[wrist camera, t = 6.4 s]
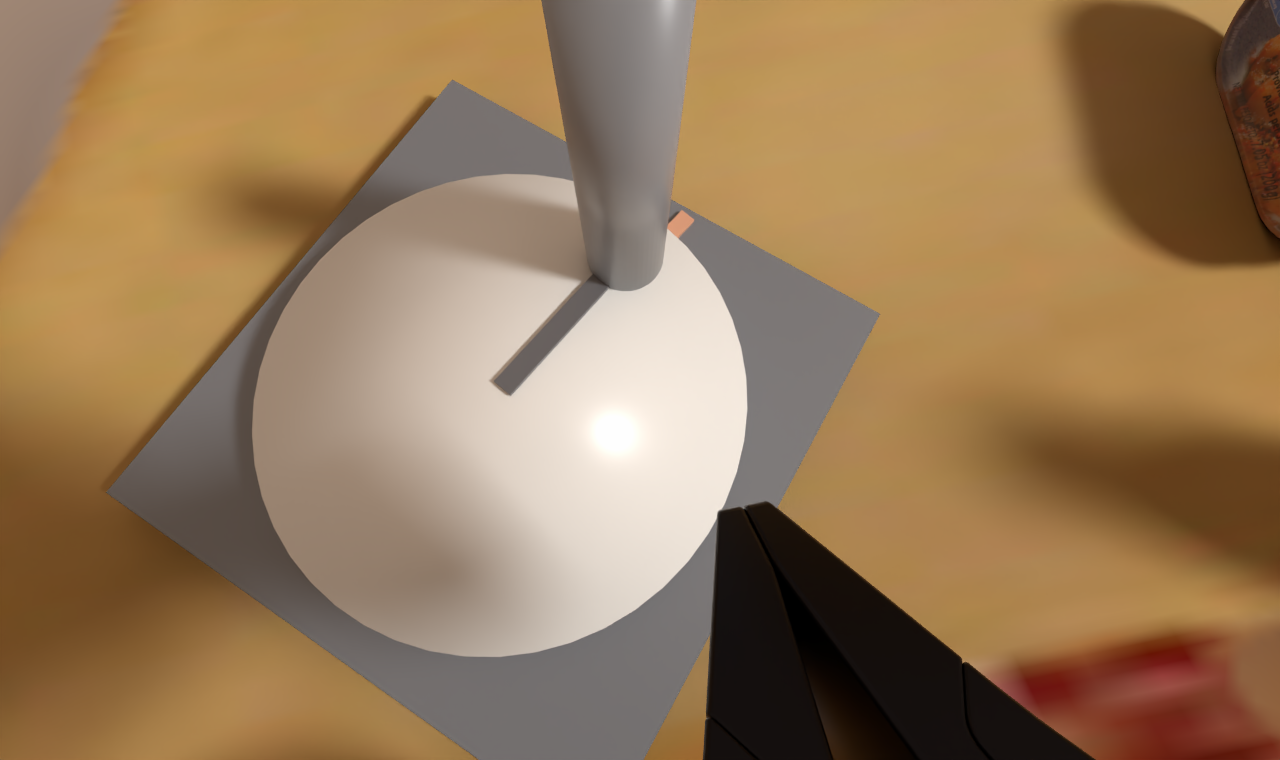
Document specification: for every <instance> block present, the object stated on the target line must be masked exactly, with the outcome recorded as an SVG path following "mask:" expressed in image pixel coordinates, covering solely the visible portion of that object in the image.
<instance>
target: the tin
mask: <svg viewBox="0 0 1280 760" xmlns="http://www.w3.org/2000/svg"><path fill="white" fill-rule="evenodd" d="M1216 83H1217V87H1218V90H1219V94H1220V97H1221V100H1222V102H1223V106H1224V109H1225V112H1226V114H1227V118H1228V121H1229V124H1230V127H1231V129H1232V132H1233V135H1234V139H1235V142H1236V145H1237V148H1238V150H1239V153H1240V157H1241V160H1242V163H1243V167H1244V170H1245V173H1246V176H1247V180H1248V183H1249V186H1250V189H1251V192H1252V196H1253V198H1254V202H1255V205H1256V208H1257V210H1258V213H1259V215H1260V218H1261V219H1262V221H1263V222H1264V224H1265V225H1266V227H1267V228H1268V229H1269V230H1270V231H1271V232H1272V233H1273V234H1274V235H1276V236H1277V237H1278V238H1280V0H1245V1H1244V2H1243V4H1242V5H1241V7H1240V8H1239V10H1238V11H1237V13H1236V15H1235V16H1234V18H1233V20H1232V22H1231V24H1230V26H1229V28H1228V30H1227V32H1226V34H1225V36H1224V38H1223V41H1222V44H1221V47H1220V51H1219V55H1218V59H1217V65H1216Z"/></svg>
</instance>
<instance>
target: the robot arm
mask: <svg viewBox="0 0 1280 760" xmlns="http://www.w3.org/2000/svg"><path fill="white" fill-rule="evenodd" d="M706 718H707V719H706V720H705V734H704V752H703V760H1095V759H1094V758H1093V757H1091V756H1090V755H1088V754H1087V753H1086V752H1084V751H1083V750H1081V749H1080V748H1079V747H1077V746H1076V745H1074V744H1073V743H1072V742H1070V741H1069V740H1068V739H1066V738H1065V737H1063V736H1062V735H1061V734H1059V733H1058V732H1056V731H1055V730H1054V729H1052V728H1051V727H1049V726H1048V725H1047V724H1045V723H1044V722H1043V721H1041V720H1040V719H1038V718H1037V717H1036V716H1035V715H1033V714H1032V713H1031V712H1029V711H1028V710H1027V709H1026V708H1024V707H1023V706H1022V705H1020V704H1019V703H1018V702H1017V701H1015V700H1014V699H1013V698H1011V697H1010V696H1009V695H1008V694H1006V693H1005V692H1004V691H1002V690H1001V689H1000V688H999V687H997V686H996V685H995V684H994V683H992V682H991V681H990V680H989V679H987V678H986V677H985V676H984V675H982V674H981V673H980V672H979V671H977V670H976V669H975V668H974V667H973V666H971V665H970V664H969V663H967V662H964V663H963V664H962V658H961V657H960V656H959V655H958V654H956V653H955V652H954V651H953V650H951V649H950V648H949V647H948V646H946V645H945V644H944V643H943V642H941V641H940V640H939V639H938V638H937V637H935V636H934V635H933V634H932V633H930V632H929V631H928V630H927V629H925V628H924V627H923V626H922V625H921V624H919V623H918V622H917V621H916V620H914V619H913V618H912V617H911V616H909V615H908V614H907V613H906V612H905V611H903V610H902V609H901V608H900V607H898V606H897V605H896V604H895V603H893V602H892V601H891V600H890V599H889V598H887V597H886V596H885V595H884V594H882V593H881V592H880V591H879V590H877V589H876V588H875V587H874V586H872V585H871V584H870V583H869V582H868V581H866V580H865V579H864V578H863V577H861V576H860V575H859V574H858V573H856V572H855V571H854V570H853V569H852V568H850V567H849V566H848V565H847V564H845V563H844V562H843V561H842V560H840V559H839V558H838V557H837V556H836V555H834V554H833V553H832V552H831V551H829V550H828V549H827V548H826V547H824V546H823V545H822V544H821V543H820V542H818V541H817V540H816V539H815V538H813V537H812V536H811V535H810V534H808V533H807V532H806V531H805V530H803V529H802V528H801V527H800V526H799V525H797V524H796V523H795V522H794V521H792V520H791V519H790V518H789V517H787V516H786V515H785V514H784V513H783V512H781V511H780V510H779V509H778V508H776V507H775V506H774V505H773V504H771V503H770V502H767V501H762V502H757V503H751V504H747V505H745V506H744V507H743V508H742V507H740V506H736V507H731V508H726V509H721V510H719V511H718V512H717V523H716V541H715V559H714V577H713V595H712V613H711V631H710V649H709V668H708V686H707V704H706Z"/></svg>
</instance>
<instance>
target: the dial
mask: <svg viewBox="0 0 1280 760" xmlns="http://www.w3.org/2000/svg"><path fill="white" fill-rule="evenodd" d="M541 1H542V6H543V12H544V18H545V23H546V29H547V34H548V40H549V46H550V51H551V57H552V63H553V68H554V74H555V80H556V85H557V91H558V97H559V102H560V108H561V114H562V119H563V125H564V131H565V136H566V142H567V148H568V153H569V159H570V165H571V170H572V176H573V181H570V180H566V179H562V178H555V177H548V176H541V175H530V174H499V175H488V176H478V177H472V178H467V179H462V180H458V181H453V182H448V183H445V184H442V185H439V186H436V187H433V188H430V189H426V190H423V191H420V192H418V193H416V194H413V195H411V196H409V197H407V198H405V199H403V200H400V201H398V202H396V203H394V204H392V205H390V206H388V207H387V208H385V209H383V210H382V211H380V212H378V213H377V214H375V215H373V216H372V217H370V218H368V219H367V220H365V221H364V222H363V223H361V224H360V225H359V226H357V227H356V228H355V229H354V230H352V231H351V232H350V233H348V234H347V235H346V236H344V237H343V238H342V239H341V240H340V241H339V242H338V243H337V244H336V245H335V246H334V247H333V248H332V249H330V250H329V251H328V252H327V253H326V254H325V255H324V256H323V257H322V258H321V259H320V260H319V261H318V263H317V264H316V265H315V266H314V268H313V269H312V270H311V271H310V272H309V274H308V275H307V276H306V277H305V279H304V280H303V281H302V282H301V283H300V285H299V286H298V288H297V290H296V291H295V293H294V294H293V296H292V297H291V299H290V301H289V302H288V304H287V305H286V307H285V308H284V310H283V312H282V314H281V316H280V318H279V320H278V322H277V325H276V327H275V329H274V331H273V333H272V335H271V337H270V339H269V342H268V345H267V349H266V352H265V355H264V358H263V361H262V364H261V367H260V370H259V375H258V381H257V386H256V391H255V396H254V404H253V422H252V440H253V452H254V464H255V469H256V473H257V478H258V482H259V487H260V491H261V495H262V498H263V501H264V504H265V506H266V509H267V511H268V514H269V517H270V519H271V522H272V524H273V527H274V529H275V531H276V532H277V534H278V536H279V538H280V539H281V541H282V543H283V545H284V546H285V548H286V550H287V552H288V554H289V555H290V557H291V558H292V559H293V561H294V562H295V563H296V564H297V566H298V567H299V568H300V569H301V571H302V572H303V573H304V575H305V576H306V577H307V578H308V580H309V581H310V582H311V583H312V584H313V585H314V586H315V587H316V588H317V589H318V590H319V591H320V592H321V593H322V594H324V595H325V596H326V597H327V598H328V599H329V600H330V601H331V602H332V603H333V604H334V605H335V606H337V607H338V608H340V609H341V610H342V611H344V612H345V613H347V614H348V615H350V616H351V617H353V618H354V619H356V620H357V621H358V622H360V623H361V624H363V625H364V626H367V627H369V628H371V629H373V630H375V631H377V632H379V633H381V634H383V635H385V636H387V637H389V638H391V639H393V640H396V641H399V642H402V643H405V644H408V645H411V646H415V647H418V648H421V649H424V650H427V651H432V652H439V653H445V654H451V655H458V656H465V657H504V656H511V655H519V654H527V653H534V652H539V651H543V650H546V649H550V648H553V647H557V646H561V645H564V644H568V643H572V642H574V641H576V640H578V639H581V638H583V637H585V636H588V635H590V634H592V633H595V632H597V631H599V630H602V629H604V628H606V627H608V626H609V625H611V624H613V623H614V622H616V621H618V620H619V619H621V618H623V617H624V616H626V615H628V614H629V613H631V612H633V611H634V610H636V609H637V608H638V607H640V606H641V605H642V604H643V603H645V602H646V601H647V600H648V599H650V598H651V597H652V596H653V595H655V594H656V593H657V592H658V591H660V590H661V589H662V588H663V587H664V586H665V585H666V584H667V583H668V582H669V581H670V580H671V579H672V578H673V577H674V576H675V575H676V574H677V573H678V572H679V571H680V570H681V569H682V568H683V566H684V565H685V564H686V563H687V562H688V561H689V560H690V558H691V557H692V556H693V554H694V553H695V551H696V550H697V549H698V547H699V546H700V545H701V543H702V542H703V541H704V539H705V538H706V536H707V535H708V534H709V532H710V530H711V528H712V526H713V524H714V523H715V521H716V519H717V512H718V511H719V510H721V509H722V508H723V506H724V504H725V502H726V499H727V497H728V494H729V491H730V489H731V486H732V484H733V481H734V478H735V476H736V473H737V469H738V465H739V461H740V456H741V452H742V448H743V444H744V438H745V428H746V418H747V384H746V373H745V367H744V361H743V355H742V350H741V346H740V342H739V339H738V336H737V333H736V329H735V326H734V323H733V320H732V317H731V315H730V313H729V311H728V309H727V307H726V304H725V302H724V300H723V298H722V296H721V294H720V292H719V290H718V289H717V287H716V285H715V284H714V282H713V281H712V279H711V278H710V276H709V274H708V273H707V271H706V270H705V268H704V267H703V266H702V264H701V263H700V262H699V261H698V260H697V258H696V257H695V256H694V255H693V254H692V252H691V251H690V250H689V249H688V248H687V246H686V245H685V244H683V243H682V242H681V241H680V240H679V239H678V238H677V237H676V236H675V235H674V234H673V233H672V232H671V231H669V230H668V229H667V227H668V219H669V211H670V203H671V196H672V188H673V180H674V172H675V164H676V156H677V148H678V140H679V132H680V124H681V117H682V109H683V101H684V93H685V85H686V77H687V69H688V61H689V53H690V45H691V38H692V30H693V22H694V14H695V6H696V0H541Z"/></svg>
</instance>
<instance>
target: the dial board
mask: <svg viewBox="0 0 1280 760" xmlns="http://www.w3.org/2000/svg"><path fill="white" fill-rule="evenodd" d="M499 174H530V175H541V176H548V177H555V178H562V179H566V180H570V181H573V176H572V170H571V165H570V159H569V153H568V148H567V142H565V141H563V140H561V139H560V138H558V137H556V136H554V135H552V134H550V133H549V132H547V131H545V130H543V129H541V128H539V127H538V126H536V125H534V124H532V123H530V122H528V121H527V120H525V119H523V118H521V117H519V116H518V115H516V114H514V113H512V112H510V111H508V110H507V109H505V108H503V107H501V106H499V105H497V104H496V103H494V102H492V101H490V100H488V99H486V98H485V97H483V96H481V95H479V94H477V93H476V92H474V91H472V90H470V89H468V88H466V87H465V86H463V85H461V84H459V83H457V82H455V81H454V80H452V81H451V82H450V83H449V84H448V85H447V87H446V88H445V89H444V90H443V91H442V92H441V94H440V95H439V96H438V97H437V98H436V100H435V101H434V102H433V103H432V104H431V106H430V107H429V108H428V109H427V110H426V112H425V113H424V114H423V115H422V116H421V118H420V119H419V120H418V121H417V122H416V124H415V125H414V126H413V127H412V128H411V129H410V131H409V132H408V133H407V134H406V135H405V137H404V138H403V139H402V140H401V141H400V143H399V144H398V145H397V146H396V147H395V149H394V150H393V151H392V152H391V153H390V155H389V156H388V157H387V158H386V159H385V160H384V162H383V163H382V164H381V165H380V166H379V168H378V169H377V170H376V171H375V172H374V174H373V175H372V176H371V177H370V178H369V180H368V181H367V182H366V183H365V184H364V186H363V187H362V188H361V189H360V190H359V191H358V193H357V194H356V195H355V196H354V197H353V199H352V200H351V201H350V202H349V203H348V205H347V206H346V207H345V208H344V209H343V211H342V212H341V213H340V214H339V215H338V217H337V218H336V219H335V220H334V221H333V222H332V224H331V225H330V226H329V227H328V228H327V230H326V231H325V232H324V233H323V234H322V236H321V237H320V238H319V239H318V240H317V242H316V243H315V244H314V245H313V246H312V248H311V249H310V250H309V251H308V252H307V253H306V255H305V256H304V257H303V258H302V259H301V261H300V262H299V263H298V264H297V265H296V267H295V268H294V269H293V270H292V271H291V273H290V274H289V275H288V276H287V277H286V279H285V280H284V281H283V282H282V283H281V285H280V286H279V287H278V288H277V289H276V290H275V292H274V293H273V294H272V295H271V296H270V298H269V299H268V300H267V301H266V302H265V304H264V305H263V306H262V307H261V308H260V310H259V311H258V312H257V313H256V314H255V316H254V317H253V318H252V319H251V320H250V321H249V323H248V324H247V325H246V326H245V327H244V329H243V330H242V331H241V332H240V333H239V335H238V336H237V337H236V338H235V339H234V341H233V342H232V343H231V344H230V345H229V347H228V348H227V349H226V350H225V351H224V352H223V354H222V355H221V356H220V357H219V358H218V360H217V361H216V362H215V363H214V364H213V366H212V367H211V368H210V369H209V370H208V372H207V373H206V374H205V375H204V376H203V378H202V379H201V380H200V381H199V382H198V383H197V385H196V386H195V387H194V388H193V389H192V391H191V392H190V393H189V394H188V395H187V397H186V398H185V399H184V400H183V401H182V403H181V404H180V405H179V406H178V407H177V409H176V410H175V411H174V412H173V413H172V414H171V416H170V417H169V418H168V419H167V420H166V422H165V423H164V424H163V425H162V426H161V428H160V429H159V430H158V431H157V432H156V434H155V435H154V436H153V437H152V438H151V440H150V441H149V442H148V443H147V444H146V446H145V447H144V448H143V449H142V450H141V451H140V453H139V454H138V455H137V456H136V457H135V459H134V460H133V461H132V462H131V463H130V465H129V466H128V467H127V468H126V469H125V471H124V472H123V473H122V474H121V475H120V477H119V478H118V479H117V480H116V481H115V482H114V484H113V485H112V486H111V487H110V488H109V490H108V491H107V492H106V493H107V494H109V495H110V496H112V497H113V498H114V499H116V500H117V501H119V502H120V503H121V504H123V505H124V506H126V507H127V508H128V509H130V510H131V511H133V512H134V513H135V514H137V515H138V516H140V517H141V518H142V519H144V520H145V521H147V522H148V523H149V524H151V525H152V526H154V527H155V528H156V529H158V530H159V531H160V532H162V533H163V534H165V535H166V536H167V537H169V538H170V539H172V540H173V541H174V542H176V543H177V544H179V545H180V546H181V547H183V548H184V549H186V550H187V551H188V552H190V553H191V554H193V555H194V556H195V557H197V558H198V559H200V560H201V561H202V562H204V563H205V564H207V565H208V566H209V567H211V568H212V569H214V570H215V571H216V572H218V573H219V574H221V575H222V576H223V577H225V578H226V579H228V580H229V581H230V582H232V583H233V584H234V585H236V586H237V587H239V588H240V589H241V590H243V591H244V592H246V593H247V594H248V595H250V596H251V597H253V598H254V599H255V600H257V601H258V602H260V603H261V604H262V605H264V606H265V607H267V608H268V609H269V610H271V611H272V612H274V613H275V614H276V615H278V616H279V617H281V618H282V619H283V620H285V621H286V622H288V623H289V624H290V625H292V626H293V627H295V628H296V629H297V630H299V631H300V632H301V633H303V634H304V635H306V636H307V637H308V638H310V639H311V640H313V641H314V642H315V643H317V644H318V645H320V646H321V647H322V648H324V649H325V650H327V651H328V652H329V653H331V654H332V655H334V656H335V657H336V658H338V659H339V660H341V661H342V662H343V663H345V664H346V665H348V666H349V667H350V668H352V669H353V670H355V671H356V672H357V673H359V674H360V675H362V676H363V677H364V678H366V679H367V680H369V681H370V682H371V683H373V684H374V685H375V686H377V687H378V688H380V689H381V690H382V691H384V692H385V693H387V694H388V695H389V696H391V697H392V698H394V699H395V700H396V701H398V702H399V703H401V704H402V705H403V706H405V707H406V708H408V709H409V710H410V711H412V712H413V713H415V714H416V715H417V716H419V717H420V718H422V719H423V720H424V721H426V722H427V723H429V724H430V725H431V726H433V727H434V728H436V729H437V730H438V731H440V732H441V733H443V734H444V735H445V736H447V737H448V738H449V739H451V740H452V741H454V742H455V743H456V744H458V745H459V746H461V747H462V748H463V749H465V750H466V751H468V752H469V753H470V754H472V755H473V756H475V757H476V758H477V759H479V760H644V758H645V756H646V754H647V752H648V750H649V748H650V746H651V744H652V743H653V741H654V739H655V737H656V735H657V733H658V731H659V729H660V728H661V726H662V724H663V722H664V720H665V718H666V716H667V714H668V712H669V711H670V709H671V707H672V705H673V703H674V701H675V699H676V697H677V695H678V694H679V692H680V690H681V688H682V686H683V684H684V682H685V680H686V679H687V677H688V675H689V673H690V671H691V669H692V667H693V665H694V663H695V662H696V660H697V658H698V656H699V654H700V652H701V650H702V648H703V647H704V645H705V643H706V641H707V639H708V637H709V635H710V631H711V613H712V595H713V577H714V559H715V541H716V523H717V519H716V521H715V523H714V524H713V526H712V528H711V530H710V532H709V534H708V535H707V536H706V538H705V539H704V541H703V542H702V543H701V545H700V546H699V547H698V549H697V550H696V551H695V553H694V554H693V556H692V557H691V558H690V560H689V561H688V562H687V563H686V564H685V565H684V566H683V568H682V569H681V570H680V571H679V572H678V573H677V574H676V575H675V576H674V577H673V578H672V579H671V580H670V581H669V582H668V583H667V584H666V585H665V586H664V587H663V588H662V589H661V590H660V591H658V592H657V593H656V594H655V595H653V596H652V597H651V598H650V599H648V600H647V601H646V602H645V603H643V604H642V605H641V606H640V607H638V608H637V609H636V610H634V611H633V612H631V613H629V614H628V615H626V616H624V617H623V618H621V619H619V620H618V621H616V622H614V623H613V624H611V625H609V626H608V627H606V628H604V629H602V630H599V631H597V632H595V633H592V634H590V635H588V636H585V637H583V638H581V639H578V640H576V641H574V642H572V643H568V644H564V645H561V646H557V647H553V648H550V649H546V650H543V651H539V652H534V653H527V654H519V655H511V656H504V657H465V656H458V655H451V654H445V653H439V652H432V651H427V650H424V649H421V648H418V647H415V646H411V645H408V644H405V643H402V642H399V641H396V640H393V639H391V638H389V637H387V636H385V635H383V634H381V633H379V632H377V631H375V630H373V629H371V628H369V627H367V626H364V625H363V624H361V623H360V622H358V621H357V620H356V619H354V618H353V617H351V616H350V615H348V614H347V613H345V612H344V611H342V610H341V609H340V608H338V607H337V606H335V605H334V604H333V603H332V602H331V601H330V600H329V599H328V598H327V597H326V596H325V595H324V594H322V593H321V592H320V591H319V590H318V589H317V588H316V587H315V586H314V585H313V584H312V583H311V582H310V581H309V580H308V578H307V577H306V576H305V575H304V573H303V572H302V571H301V569H300V568H299V567H298V566H297V564H296V563H295V562H294V561H293V559H292V558H291V557H290V555H289V554H288V552H287V550H286V548H285V546H284V545H283V543H282V541H281V539H280V538H279V536H278V534H277V532H276V531H275V529H274V527H273V524H272V522H271V519H270V517H269V514H268V511H267V509H266V506H265V504H264V501H263V498H262V495H261V491H260V487H259V482H258V478H257V473H256V469H255V464H254V452H253V440H252V422H253V404H254V396H255V391H256V386H257V381H258V375H259V370H260V367H261V364H262V361H263V358H264V355H265V352H266V349H267V345H268V342H269V339H270V337H271V335H272V333H273V331H274V329H275V327H276V325H277V322H278V320H279V318H280V316H281V314H282V312H283V310H284V308H285V307H286V305H287V304H288V302H289V301H290V299H291V297H292V296H293V294H294V293H295V291H296V290H297V288H298V286H299V285H300V283H301V282H302V281H303V280H304V279H305V277H306V276H307V275H308V274H309V272H310V271H311V270H312V269H313V268H314V266H315V265H316V264H317V263H318V261H319V260H320V259H321V258H322V257H323V256H324V255H325V254H326V253H327V252H328V251H329V250H330V249H332V248H333V247H334V246H335V245H336V244H337V243H338V242H339V241H340V240H341V239H342V238H343V237H344V236H346V235H347V234H348V233H350V232H351V231H352V230H354V229H355V228H356V227H357V226H359V225H360V224H361V223H363V222H364V221H365V220H367V219H368V218H370V217H372V216H373V215H375V214H377V213H378V212H380V211H382V210H383V209H385V208H387V207H388V206H390V205H392V204H394V203H396V202H398V201H400V200H403V199H405V198H407V197H409V196H411V195H413V194H416V193H418V192H420V191H423V190H426V189H430V188H433V187H436V186H439V185H442V184H445V183H448V182H453V181H458V180H462V179H467V178H472V177H478V176H488V175H499ZM667 229H668V230H669V231H671V232H672V233H673V234H674V235H675V236H676V237H677V238H678V239H679V240H680V241H681V242H682V243H683V244H685V245H686V246H687V248H688V249H689V250H690V251H691V252H692V254H693V255H694V256H695V257H696V258H697V260H698V261H699V262H700V263H701V264H702V266H703V267H704V268H705V270H706V271H707V273H708V274H709V276H710V278H711V279H712V281H713V282H714V284H715V285H716V287H717V289H718V290H719V292H720V294H721V296H722V298H723V300H724V302H725V304H726V307H727V309H728V311H729V313H730V315H731V317H732V320H733V323H734V326H735V329H736V333H737V336H738V339H739V342H740V346H741V350H742V355H743V361H744V367H745V373H746V384H747V418H746V428H745V438H744V444H743V448H742V452H741V456H740V461H739V465H738V469H737V473H736V476H735V478H734V481H733V484H732V486H731V489H730V491H729V494H728V497H727V499H726V502H725V504H724V506H723V508H722V509H726V508H731V507H736V506H740V507H742V508H743V507H744V506H745V505H747V504H751V503H757V502H762V501H767V502H770V503H771V504H773V505H774V506H775V507H776V508H777V507H778V505H779V503H780V501H781V500H782V498H783V496H784V494H785V492H786V490H787V488H788V486H789V485H790V483H791V481H792V479H793V477H794V475H795V473H796V471H797V469H798V468H799V466H800V464H801V462H802V460H803V458H804V456H805V454H806V453H807V451H808V449H809V447H810V445H811V443H812V441H813V439H814V437H815V436H816V434H817V432H818V430H819V428H820V426H821V424H822V422H823V420H824V419H825V417H826V415H827V413H828V411H829V409H830V407H831V405H832V404H833V402H834V400H835V398H836V396H837V394H838V392H839V390H840V388H841V387H842V385H843V383H844V381H845V379H846V377H847V375H848V373H849V372H850V370H851V368H852V366H853V364H854V362H855V360H856V358H857V356H858V355H859V353H860V351H861V349H862V347H863V345H864V343H865V341H866V339H867V338H868V336H869V334H870V332H871V330H872V328H873V326H874V324H875V323H876V321H877V319H878V317H879V315H880V314H879V313H877V312H876V311H874V310H872V309H870V308H868V307H866V306H865V305H863V304H861V303H859V302H857V301H855V300H854V299H852V298H850V297H848V296H846V295H845V294H843V293H841V292H839V291H837V290H835V289H834V288H832V287H830V286H828V285H826V284H824V283H823V282H821V281H819V280H817V279H815V278H813V277H812V276H810V275H808V274H806V273H804V272H802V271H801V270H799V269H797V268H795V267H793V266H792V265H790V264H788V263H786V262H784V261H782V260H781V259H779V258H777V257H775V256H773V255H771V254H770V253H768V252H766V251H764V250H762V249H760V248H759V247H757V246H755V245H753V244H751V243H750V242H748V241H746V240H744V239H742V238H740V237H739V236H737V235H735V234H733V233H731V232H729V231H728V230H726V229H724V228H722V227H720V226H718V225H717V224H715V223H713V222H711V221H709V220H708V219H706V218H704V217H702V216H700V215H698V214H697V213H695V212H693V211H691V210H689V209H687V208H686V207H684V206H682V205H680V204H678V203H676V202H675V201H673V200H671V203H670V211H669V219H668V227H667Z"/></svg>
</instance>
